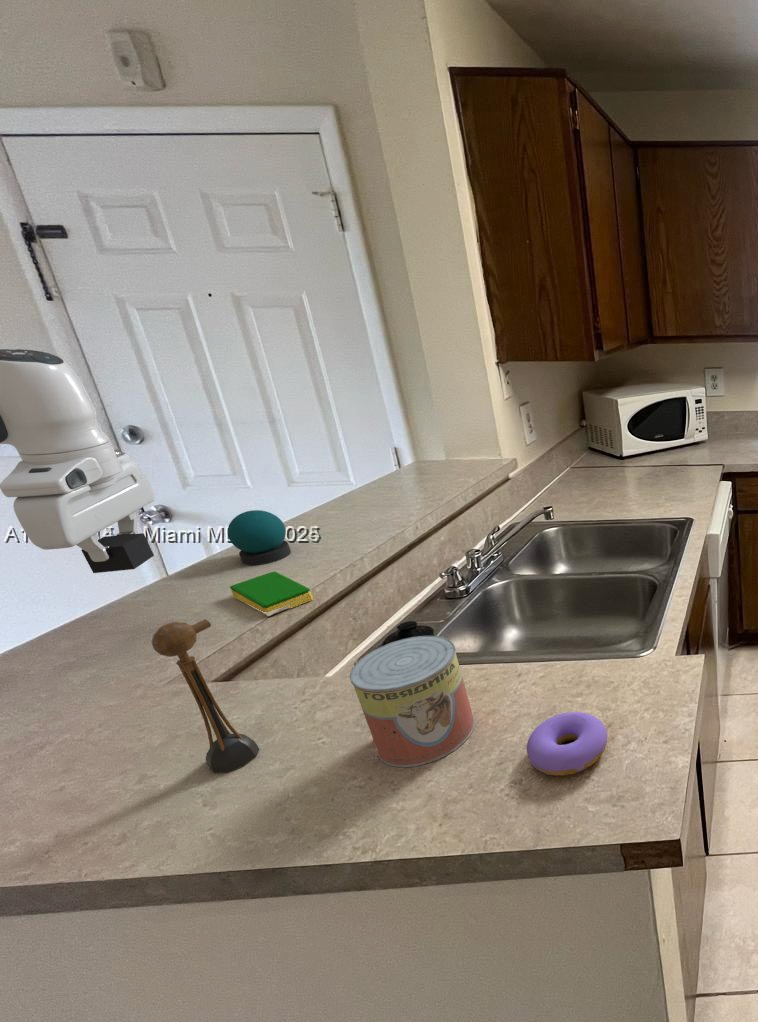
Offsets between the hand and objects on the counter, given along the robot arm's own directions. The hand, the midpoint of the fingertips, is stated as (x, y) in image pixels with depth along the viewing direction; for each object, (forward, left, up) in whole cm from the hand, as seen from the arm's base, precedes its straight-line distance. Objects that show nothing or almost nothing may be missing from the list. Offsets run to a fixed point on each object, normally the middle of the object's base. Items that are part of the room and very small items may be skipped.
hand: (117, 550), depth 94 cm
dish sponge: (+12, +9, -16) cm, 22 cm away
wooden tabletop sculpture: (+25, -36, -16) cm, 46 cm away
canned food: (+47, -39, -16) cm, 63 cm away
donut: (+65, -48, -16) cm, 82 cm away
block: (0, 0, -2) cm, 2 cm away
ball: (+3, +30, -16) cm, 35 cm away
